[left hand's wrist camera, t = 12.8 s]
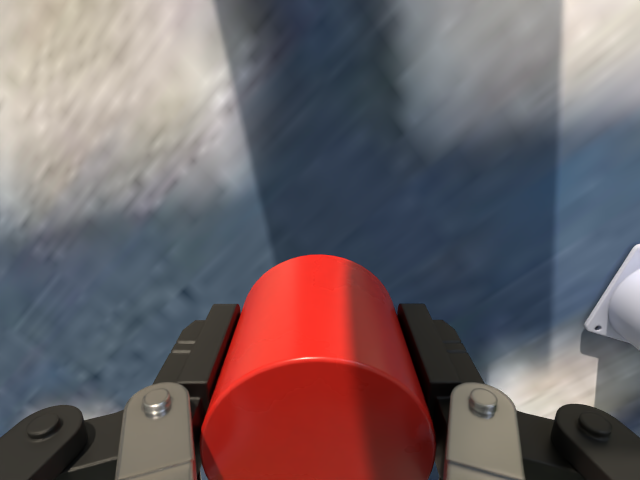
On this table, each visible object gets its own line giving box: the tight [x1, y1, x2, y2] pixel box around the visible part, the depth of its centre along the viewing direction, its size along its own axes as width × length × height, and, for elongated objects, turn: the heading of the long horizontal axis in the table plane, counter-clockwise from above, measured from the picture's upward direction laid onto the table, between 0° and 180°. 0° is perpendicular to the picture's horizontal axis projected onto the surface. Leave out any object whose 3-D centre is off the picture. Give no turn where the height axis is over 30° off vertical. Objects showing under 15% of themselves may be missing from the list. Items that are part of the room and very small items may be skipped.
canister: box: [200, 255, 436, 480], centre depth 11 cm, size 5×5×5 cm
